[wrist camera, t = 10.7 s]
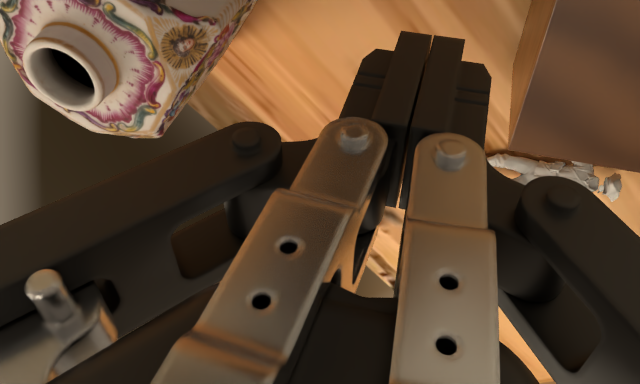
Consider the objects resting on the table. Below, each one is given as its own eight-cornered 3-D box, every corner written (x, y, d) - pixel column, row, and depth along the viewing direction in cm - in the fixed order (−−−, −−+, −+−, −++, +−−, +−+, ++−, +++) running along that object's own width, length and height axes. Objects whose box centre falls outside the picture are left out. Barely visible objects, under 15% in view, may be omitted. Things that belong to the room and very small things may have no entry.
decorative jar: (154, -177, 37) (-34, -78, 25) (297, -63, 40) (191, 75, 27) (108, -38, 45) (-49, 86, 33) (229, 47, 48) (124, 191, 36)
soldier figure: (466, 121, 48) (620, 131, 40) (488, 128, 52) (632, 139, 44) (452, 209, 48) (602, 236, 41) (475, 210, 52) (616, 235, 45)
